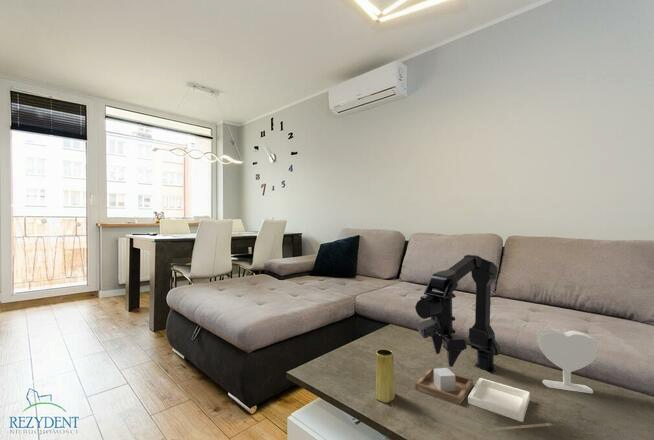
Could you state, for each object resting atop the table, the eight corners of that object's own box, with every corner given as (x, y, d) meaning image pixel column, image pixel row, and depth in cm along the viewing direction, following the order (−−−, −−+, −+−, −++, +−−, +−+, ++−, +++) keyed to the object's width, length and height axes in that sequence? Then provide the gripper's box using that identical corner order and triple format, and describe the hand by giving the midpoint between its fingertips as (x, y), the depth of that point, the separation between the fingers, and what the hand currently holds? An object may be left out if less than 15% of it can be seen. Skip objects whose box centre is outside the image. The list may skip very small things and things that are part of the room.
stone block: (433, 383, 103) (433, 368, 103) (448, 382, 104) (447, 367, 104) (440, 391, 98) (440, 376, 98) (455, 390, 99) (455, 375, 99)
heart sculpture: (592, 386, 101) (591, 331, 101) (600, 394, 96) (598, 337, 96) (537, 378, 106) (536, 326, 106) (541, 386, 101) (540, 331, 101)
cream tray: (479, 385, 103) (479, 377, 103) (529, 400, 94) (529, 392, 94) (468, 405, 92) (467, 396, 92) (522, 424, 83) (522, 415, 83)
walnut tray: (431, 373, 111) (431, 366, 111) (473, 386, 102) (472, 379, 102) (415, 391, 100) (415, 383, 100) (460, 407, 91) (460, 398, 91)
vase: (395, 403, 93) (394, 357, 93) (375, 401, 94) (374, 355, 94) (395, 392, 99) (394, 348, 99) (376, 391, 100) (375, 347, 100)
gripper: (409, 305, 109) (410, 349, 109) (431, 323, 91) (432, 375, 91) (439, 304, 110) (440, 347, 110) (467, 321, 92) (468, 373, 92)
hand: (444, 359), depth 101 cm, fingers open, 9 cm apart
